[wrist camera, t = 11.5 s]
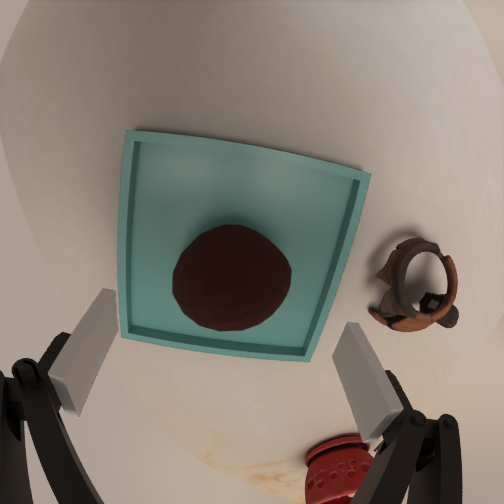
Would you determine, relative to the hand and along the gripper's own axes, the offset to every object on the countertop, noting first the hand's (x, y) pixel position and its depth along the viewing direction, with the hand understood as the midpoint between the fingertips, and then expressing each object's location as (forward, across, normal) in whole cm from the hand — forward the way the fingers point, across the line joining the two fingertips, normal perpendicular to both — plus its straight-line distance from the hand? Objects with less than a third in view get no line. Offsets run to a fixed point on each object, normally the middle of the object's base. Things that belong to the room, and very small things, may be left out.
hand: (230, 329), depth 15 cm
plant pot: (+11, +23, -35) cm, 43 cm away
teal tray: (+11, 0, -1) cm, 11 cm away
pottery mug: (+12, +19, -1) cm, 22 cm away
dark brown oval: (+11, 0, -1) cm, 11 cm away
